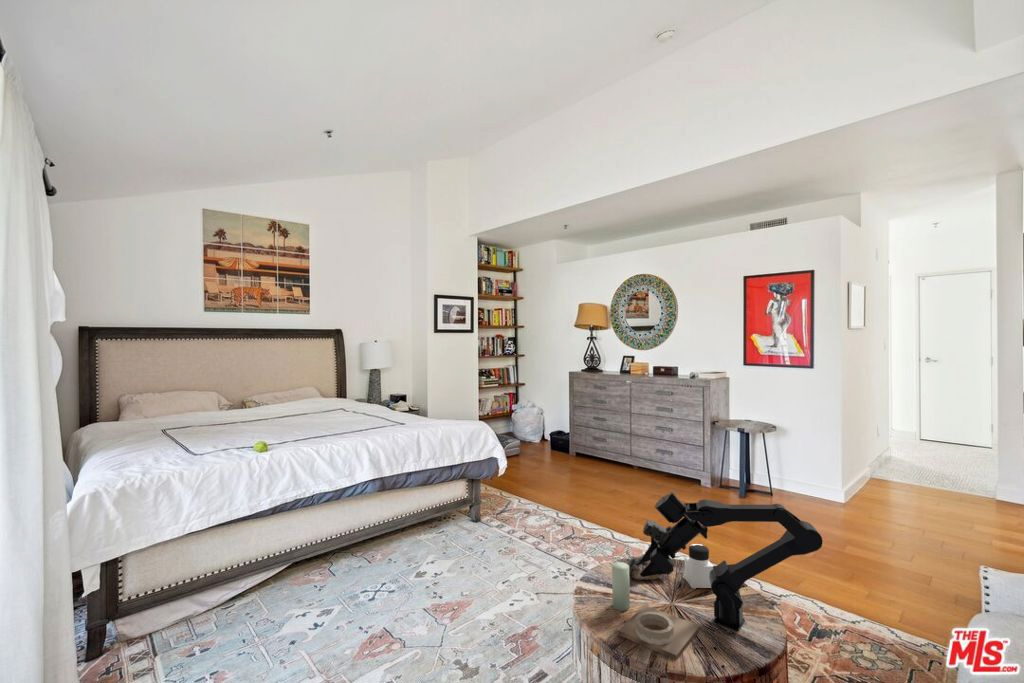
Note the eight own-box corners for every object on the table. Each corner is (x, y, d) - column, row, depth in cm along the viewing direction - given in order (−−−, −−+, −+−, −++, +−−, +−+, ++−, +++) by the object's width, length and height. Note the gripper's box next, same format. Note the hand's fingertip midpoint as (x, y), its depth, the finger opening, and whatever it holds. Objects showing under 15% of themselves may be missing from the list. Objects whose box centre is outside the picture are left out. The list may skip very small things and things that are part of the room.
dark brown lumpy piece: (622, 579, 158) (648, 590, 150) (621, 558, 158) (647, 567, 150) (644, 569, 165) (670, 578, 158) (643, 548, 166) (669, 556, 158)
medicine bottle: (714, 589, 150) (714, 551, 151) (692, 589, 151) (691, 551, 151) (706, 578, 158) (705, 541, 158) (684, 578, 158) (683, 541, 158)
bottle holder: (699, 630, 129) (699, 614, 129) (676, 660, 117) (676, 643, 117) (644, 609, 140) (644, 594, 140) (618, 634, 128) (617, 619, 128)
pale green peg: (632, 605, 142) (632, 565, 142) (624, 613, 138) (624, 571, 138) (617, 599, 145) (617, 560, 145) (609, 607, 141) (608, 566, 141)
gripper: (659, 502, 147) (623, 534, 150) (660, 524, 129) (619, 560, 133) (687, 530, 145) (649, 562, 148) (691, 557, 127) (648, 592, 130)
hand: (641, 568), depth 140 cm, fingers open, 9 cm apart
